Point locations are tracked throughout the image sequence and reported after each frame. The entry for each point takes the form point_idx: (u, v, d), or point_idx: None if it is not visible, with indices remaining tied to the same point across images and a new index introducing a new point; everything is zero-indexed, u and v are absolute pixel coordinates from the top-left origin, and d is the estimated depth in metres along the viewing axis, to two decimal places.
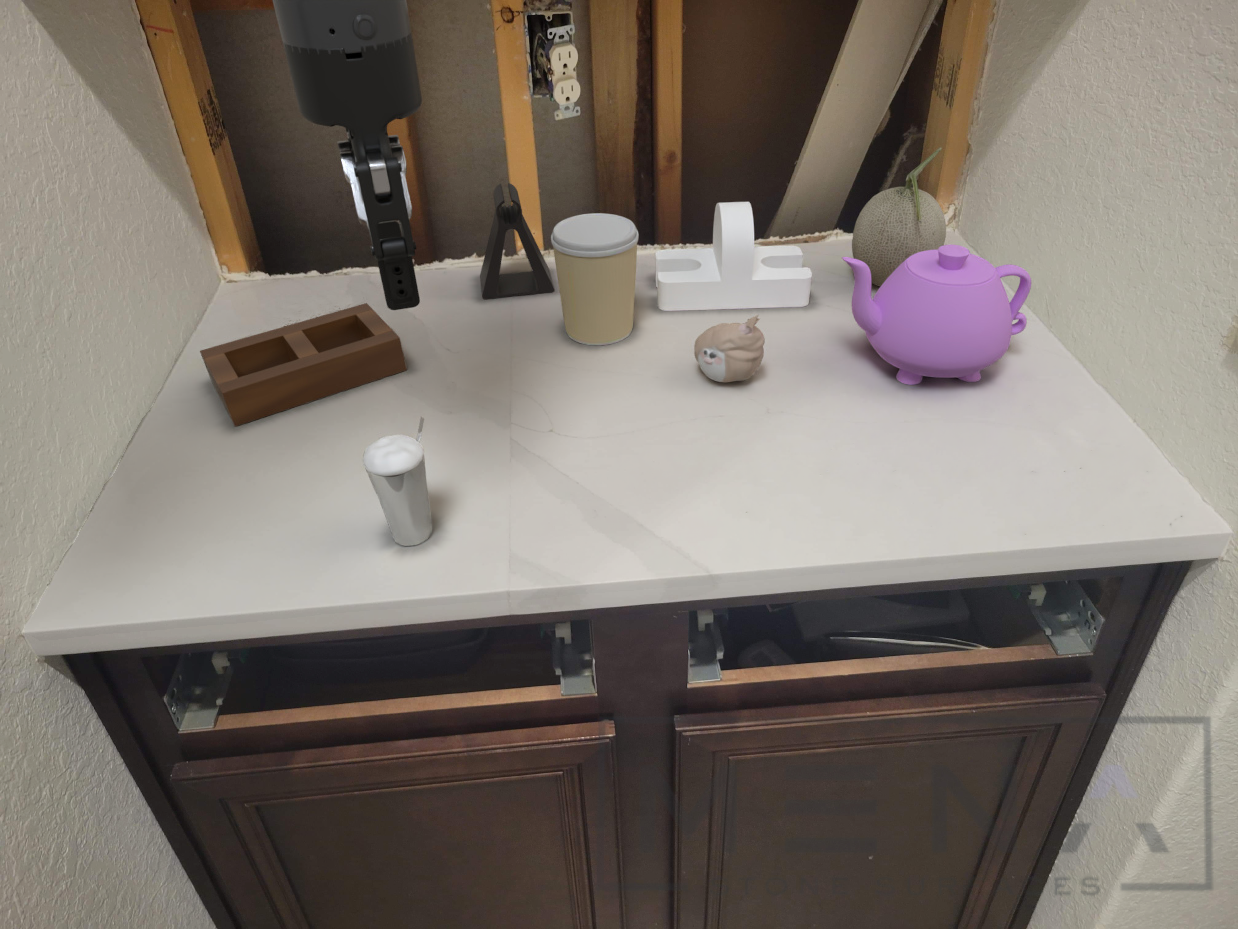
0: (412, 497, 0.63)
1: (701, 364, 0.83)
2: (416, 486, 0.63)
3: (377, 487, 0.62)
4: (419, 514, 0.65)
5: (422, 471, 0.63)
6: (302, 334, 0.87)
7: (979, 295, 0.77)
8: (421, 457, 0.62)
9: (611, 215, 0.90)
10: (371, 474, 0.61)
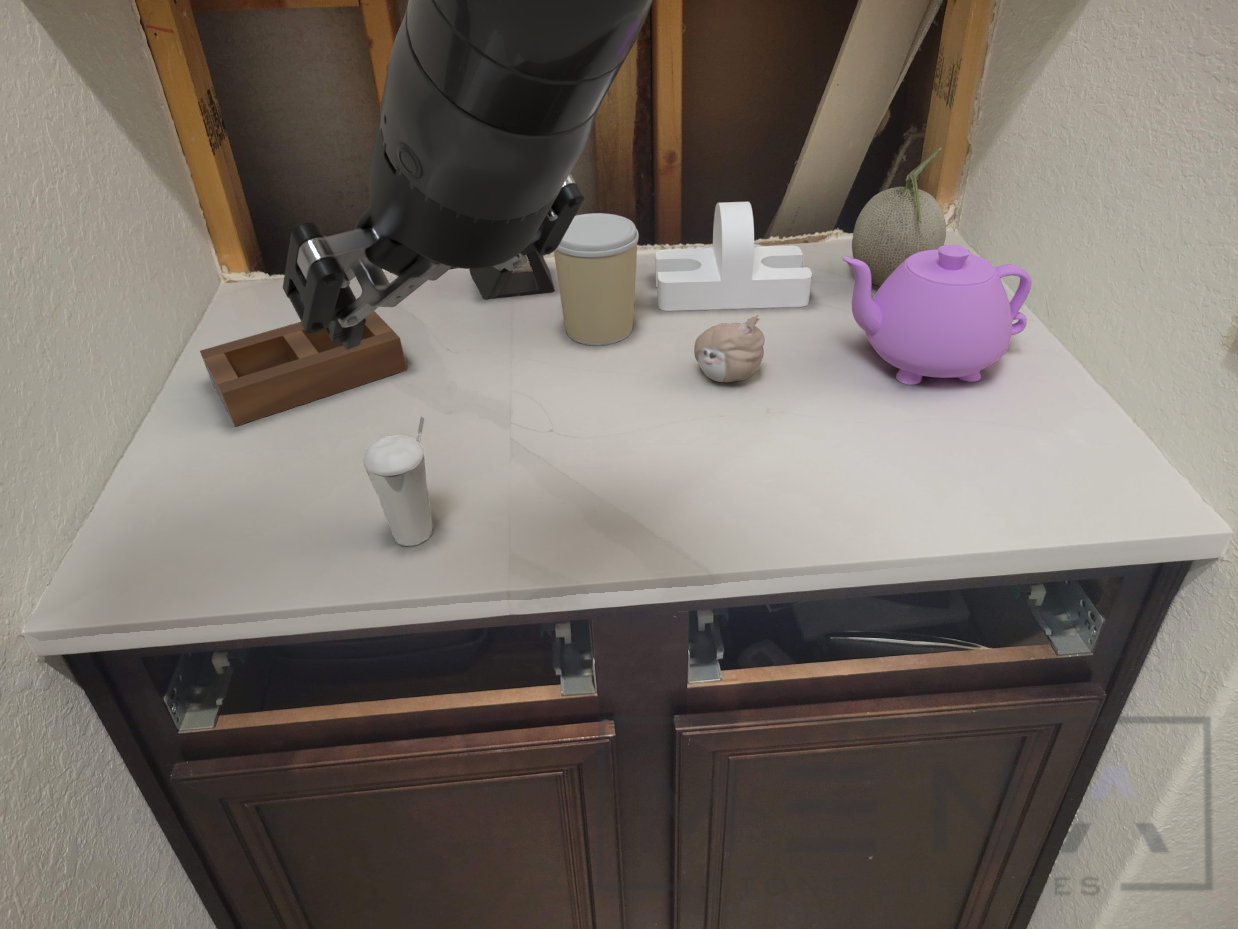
0: (412, 497, 0.63)
1: (701, 364, 0.83)
2: (416, 486, 0.63)
3: (377, 487, 0.62)
4: (419, 514, 0.65)
5: (422, 471, 0.63)
6: (302, 334, 0.87)
7: (979, 295, 0.77)
8: (421, 457, 0.62)
9: (611, 215, 0.90)
10: (371, 474, 0.61)
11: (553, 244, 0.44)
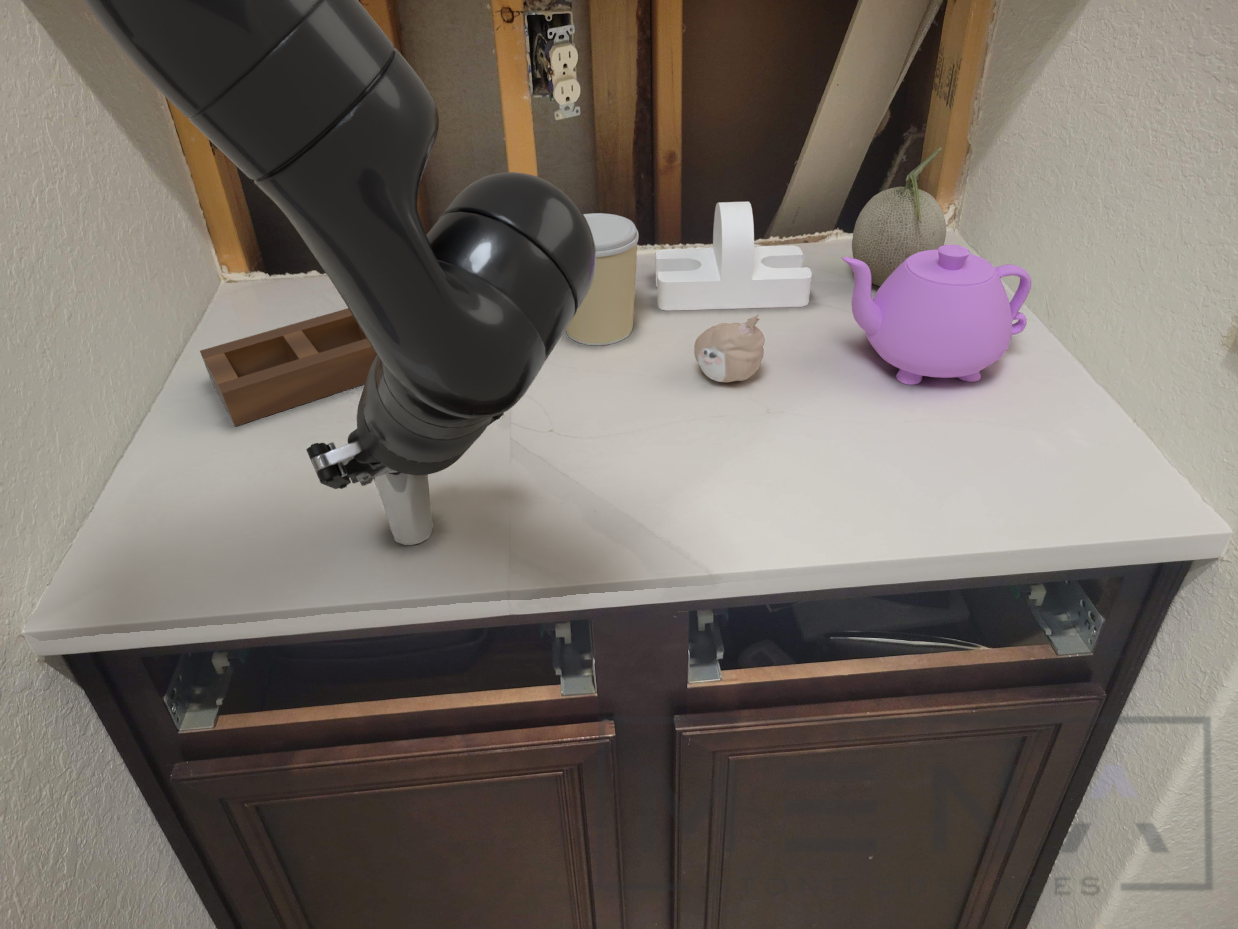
0: (414, 495, 0.63)
1: (701, 364, 0.83)
2: (418, 484, 0.63)
3: (379, 484, 0.62)
4: (420, 513, 0.65)
5: None
6: (302, 334, 0.87)
7: (979, 295, 0.77)
8: None
9: (611, 215, 0.90)
10: None
11: None
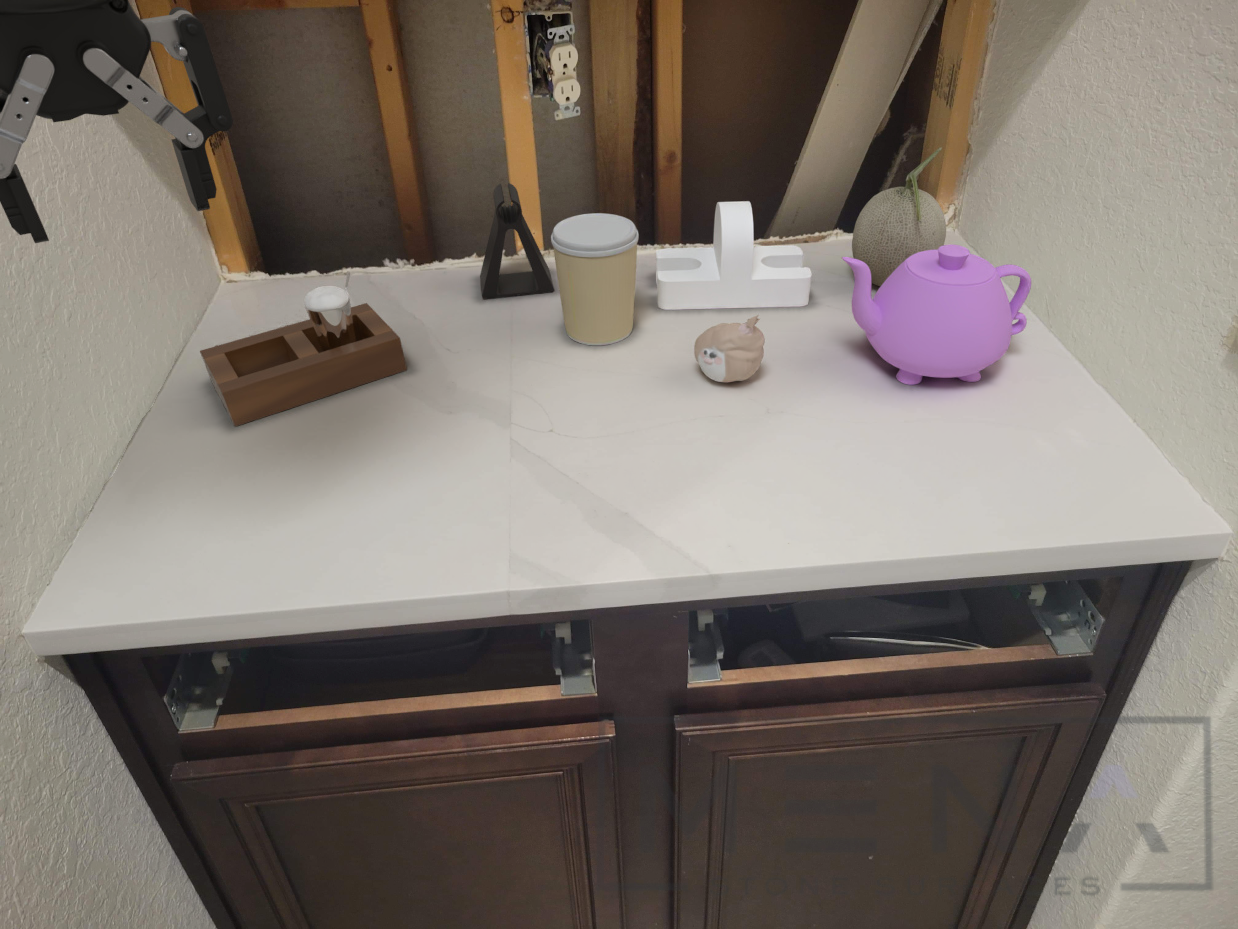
0: (341, 331, 0.85)
1: (701, 364, 0.83)
2: (343, 322, 0.84)
3: (314, 322, 0.84)
4: None
5: (348, 312, 0.85)
6: (302, 334, 0.87)
7: (979, 295, 0.77)
8: (347, 300, 0.84)
9: (611, 215, 0.90)
10: (309, 311, 0.83)
11: (221, 111, 0.47)
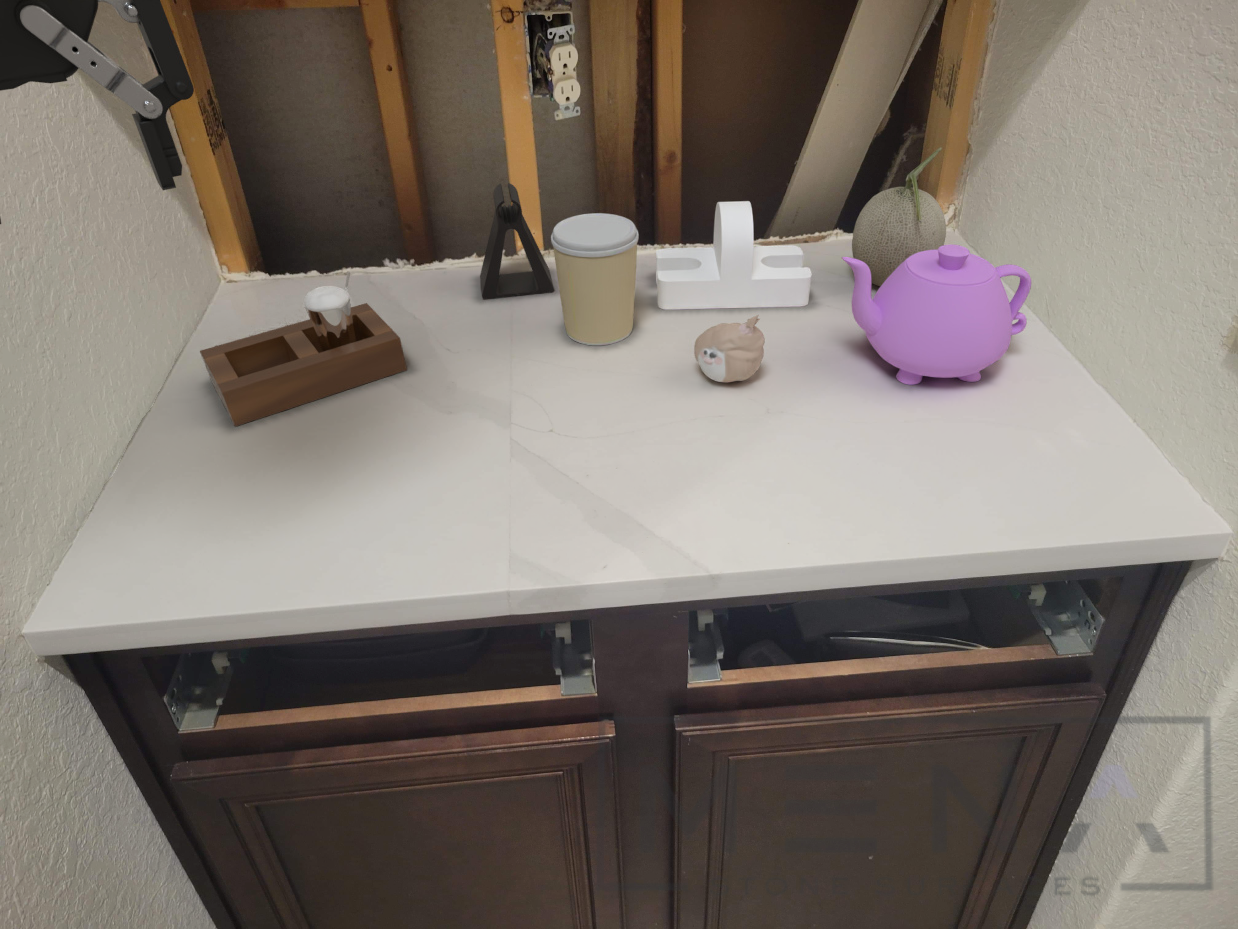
0: (341, 331, 0.85)
1: (701, 364, 0.83)
2: (343, 322, 0.84)
3: (314, 322, 0.84)
4: None
5: (348, 312, 0.85)
6: (302, 334, 0.87)
7: (979, 295, 0.77)
8: (347, 300, 0.84)
9: (611, 215, 0.90)
10: (309, 311, 0.83)
11: (179, 77, 0.43)
